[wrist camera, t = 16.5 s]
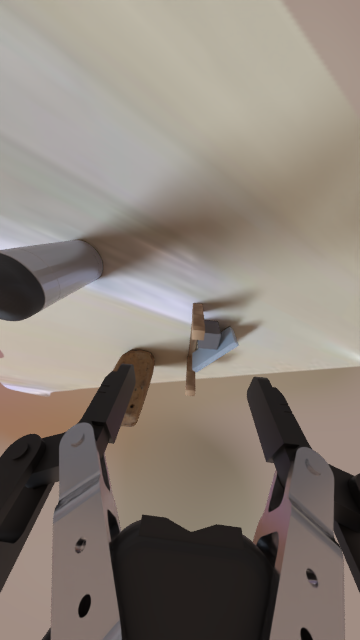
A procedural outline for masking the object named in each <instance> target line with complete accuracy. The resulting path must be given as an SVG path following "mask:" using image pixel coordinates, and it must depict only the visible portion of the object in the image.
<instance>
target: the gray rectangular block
mask: <svg viewBox="0 0 360 640" xmlns="http://www.w3.org/2000/svg"><path fill="white" fill-rule="evenodd" d="M204 324H205V335H204V340H198V348H203V349H214V350H217V349H218V345H219V341H220V337H221V332H220V328H219V324H218V321H208V320H204Z"/></svg>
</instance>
